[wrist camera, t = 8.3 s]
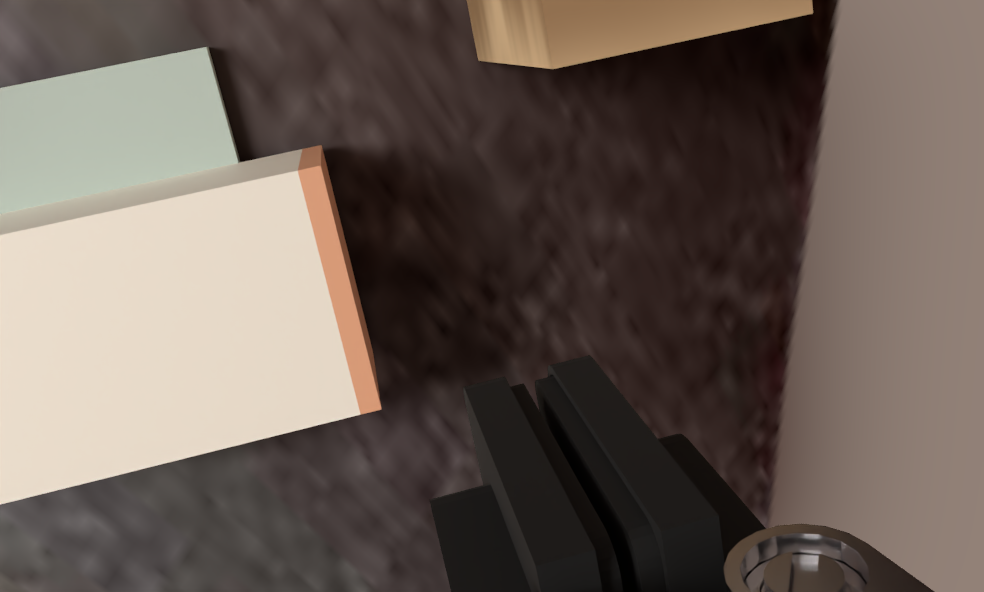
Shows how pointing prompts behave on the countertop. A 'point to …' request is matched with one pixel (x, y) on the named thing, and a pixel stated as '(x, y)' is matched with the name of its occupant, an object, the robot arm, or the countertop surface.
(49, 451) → the cream block
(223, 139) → the mat
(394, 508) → the countertop surface
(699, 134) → the countertop surface
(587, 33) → the oak block
